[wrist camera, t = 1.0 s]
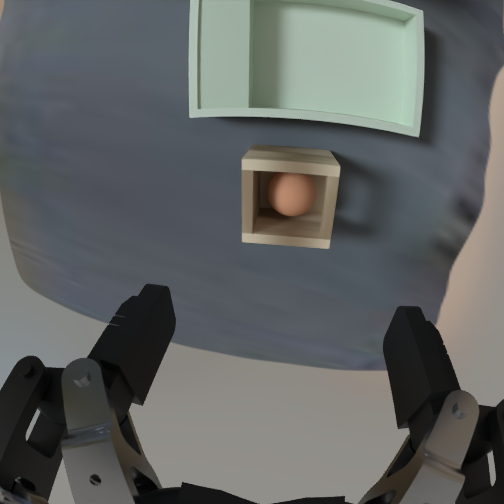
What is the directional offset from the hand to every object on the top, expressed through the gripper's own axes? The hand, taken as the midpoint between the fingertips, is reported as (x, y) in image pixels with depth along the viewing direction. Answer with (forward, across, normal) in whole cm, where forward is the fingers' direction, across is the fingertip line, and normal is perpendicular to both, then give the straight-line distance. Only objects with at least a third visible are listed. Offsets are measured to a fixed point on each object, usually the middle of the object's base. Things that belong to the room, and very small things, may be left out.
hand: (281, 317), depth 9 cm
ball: (+13, 0, 0) cm, 13 cm away
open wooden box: (+15, 0, 0) cm, 15 cm away
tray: (+15, -1, -11) cm, 19 cm away
